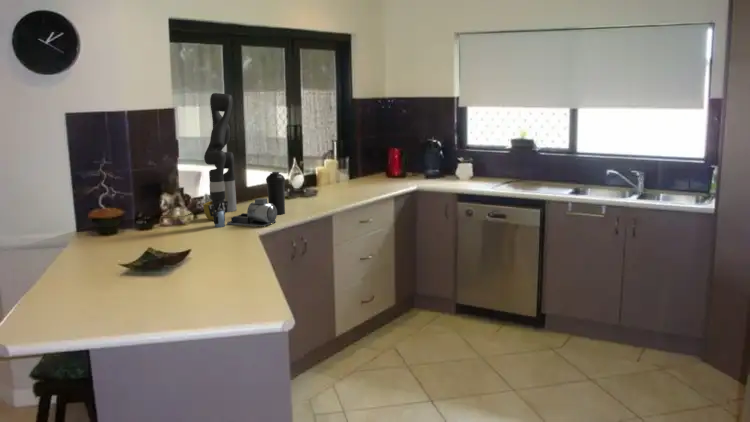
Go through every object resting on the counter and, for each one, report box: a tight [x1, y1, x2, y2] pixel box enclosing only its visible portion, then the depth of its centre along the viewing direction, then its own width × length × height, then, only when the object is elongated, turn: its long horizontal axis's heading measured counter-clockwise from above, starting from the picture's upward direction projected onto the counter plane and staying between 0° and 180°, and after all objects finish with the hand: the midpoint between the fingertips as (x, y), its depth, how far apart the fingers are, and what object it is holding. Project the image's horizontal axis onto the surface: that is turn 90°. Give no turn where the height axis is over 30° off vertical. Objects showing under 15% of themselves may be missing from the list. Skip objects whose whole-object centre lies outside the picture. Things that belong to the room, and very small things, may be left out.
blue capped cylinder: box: [214, 209, 226, 228], centre depth 358 cm, size 5×5×9 cm
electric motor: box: [226, 197, 278, 227], centre depth 362 cm, size 24×12×13 cm, turn 67°
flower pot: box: [202, 200, 216, 221], centre depth 375 cm, size 9×9×9 cm
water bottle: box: [265, 171, 286, 216], centre depth 385 cm, size 10×10×23 cm
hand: (219, 222), depth 358 cm, fingers closed on blue capped cylinder, 5 cm apart
